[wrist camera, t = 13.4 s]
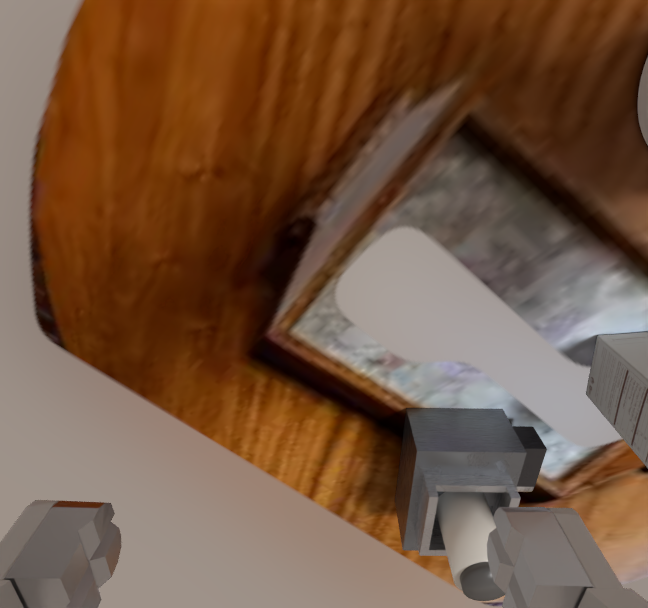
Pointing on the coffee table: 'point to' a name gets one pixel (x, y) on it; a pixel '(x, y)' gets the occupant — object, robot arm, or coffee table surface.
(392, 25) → the coffee table surface
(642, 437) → the supplement box
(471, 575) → the cream cylinder
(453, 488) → the grey socket block
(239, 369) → the coffee table surface
